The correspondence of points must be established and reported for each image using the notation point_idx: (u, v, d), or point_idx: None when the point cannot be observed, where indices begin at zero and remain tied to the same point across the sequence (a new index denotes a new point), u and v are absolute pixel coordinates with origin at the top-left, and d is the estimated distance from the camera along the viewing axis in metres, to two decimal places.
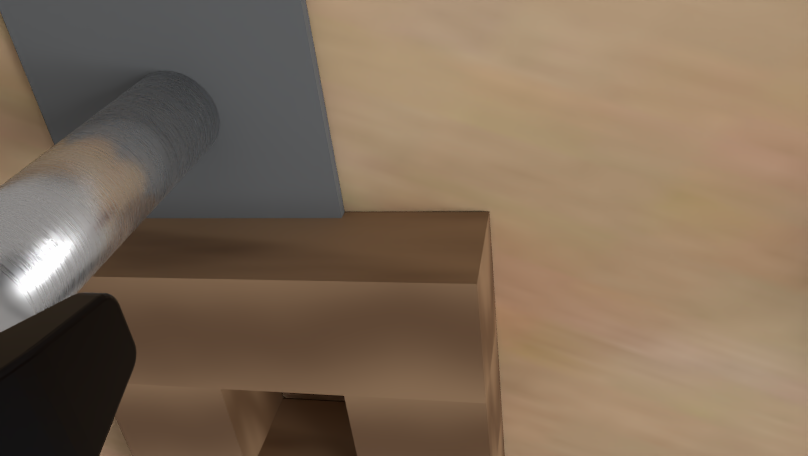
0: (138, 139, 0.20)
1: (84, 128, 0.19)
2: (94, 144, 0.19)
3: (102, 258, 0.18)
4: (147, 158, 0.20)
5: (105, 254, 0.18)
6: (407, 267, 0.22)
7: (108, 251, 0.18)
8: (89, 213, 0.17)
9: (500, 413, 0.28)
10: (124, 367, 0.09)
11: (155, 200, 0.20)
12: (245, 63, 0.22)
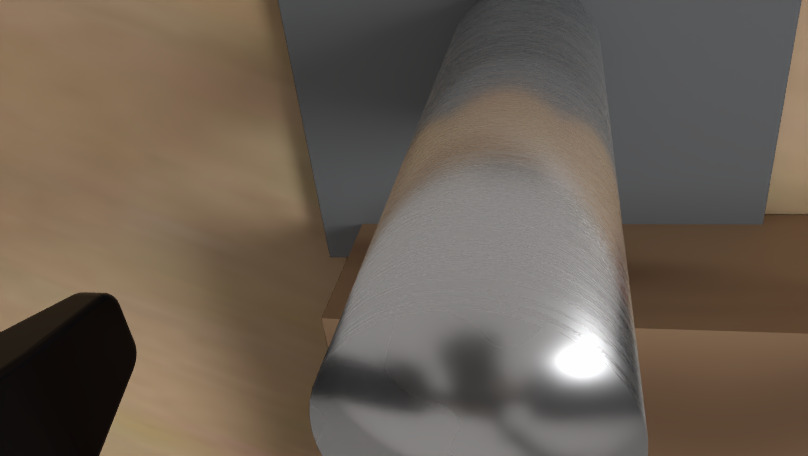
0: (587, 82, 0.11)
1: (497, 60, 0.10)
2: (550, 87, 0.10)
3: None
4: (607, 117, 0.11)
5: None
6: None
7: None
8: (617, 222, 0.08)
9: None
10: (124, 367, 0.09)
11: None
12: None
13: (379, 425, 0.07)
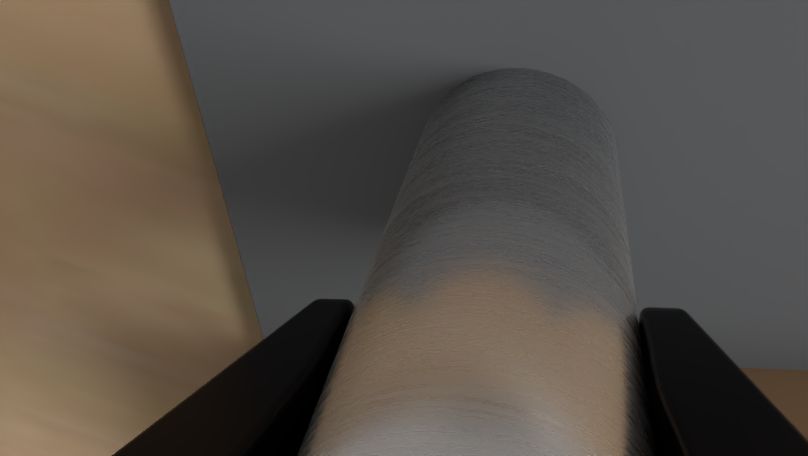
0: (604, 259, 0.07)
1: (468, 232, 0.07)
2: (546, 296, 0.06)
3: None
4: (634, 314, 0.07)
5: None
6: None
7: None
8: None
9: None
10: None
11: None
12: (726, 53, 0.10)
13: None
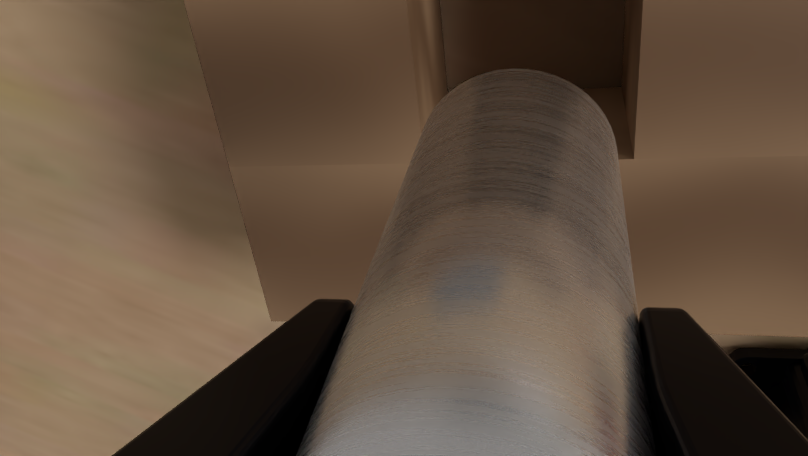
0: (604, 261, 0.07)
1: (467, 233, 0.07)
2: (546, 297, 0.06)
3: None
4: (634, 316, 0.07)
5: None
6: None
7: None
8: None
9: None
10: None
11: None
12: None
13: None
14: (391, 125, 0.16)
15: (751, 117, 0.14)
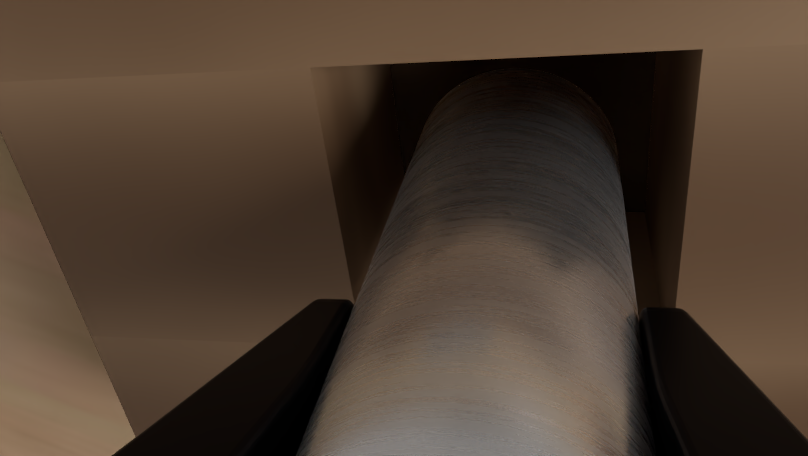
0: (604, 260, 0.07)
1: (467, 233, 0.07)
2: (546, 297, 0.06)
3: None
4: (634, 316, 0.07)
5: None
6: None
7: None
8: None
9: None
10: None
11: None
12: None
13: None
14: (312, 297, 0.11)
15: None
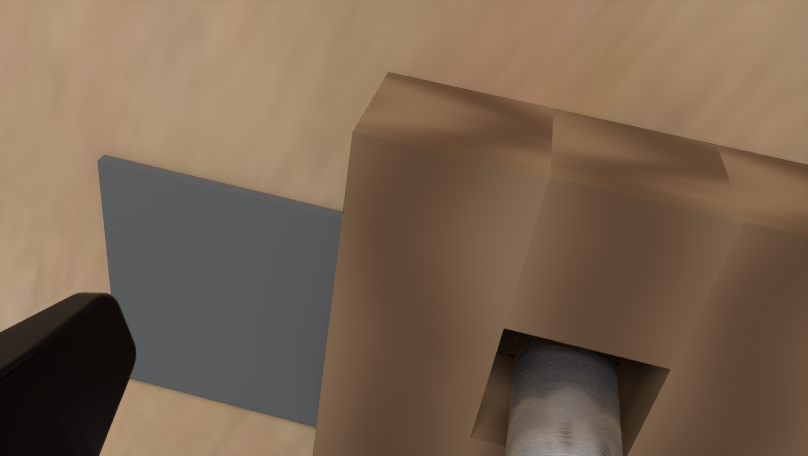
0: (539, 368, 0.20)
1: (510, 403, 0.20)
2: (519, 407, 0.19)
3: None
4: (559, 371, 0.20)
5: None
6: None
7: None
8: None
9: (706, 149, 0.19)
10: (124, 367, 0.09)
11: (602, 389, 0.19)
12: (197, 238, 0.25)
13: None
14: None
15: (666, 298, 0.18)
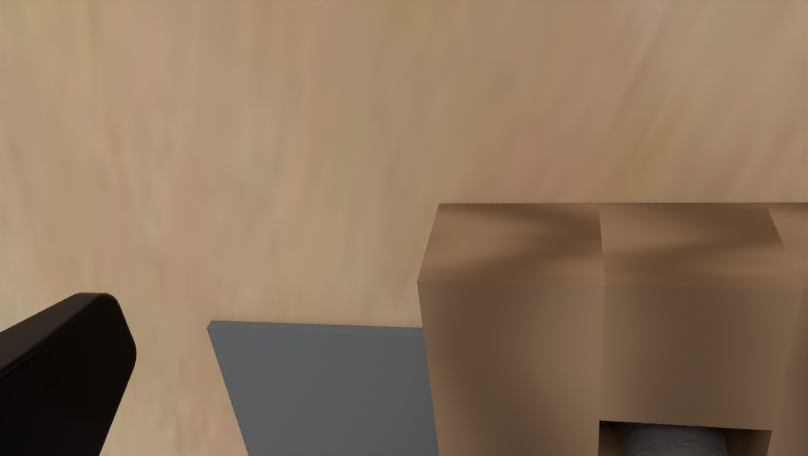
0: (643, 450, 0.21)
1: None
2: None
3: None
4: (662, 452, 0.20)
5: None
6: None
7: None
8: None
9: (755, 211, 0.20)
10: (124, 367, 0.09)
11: None
12: (306, 376, 0.27)
13: None
14: None
15: (748, 368, 0.19)
